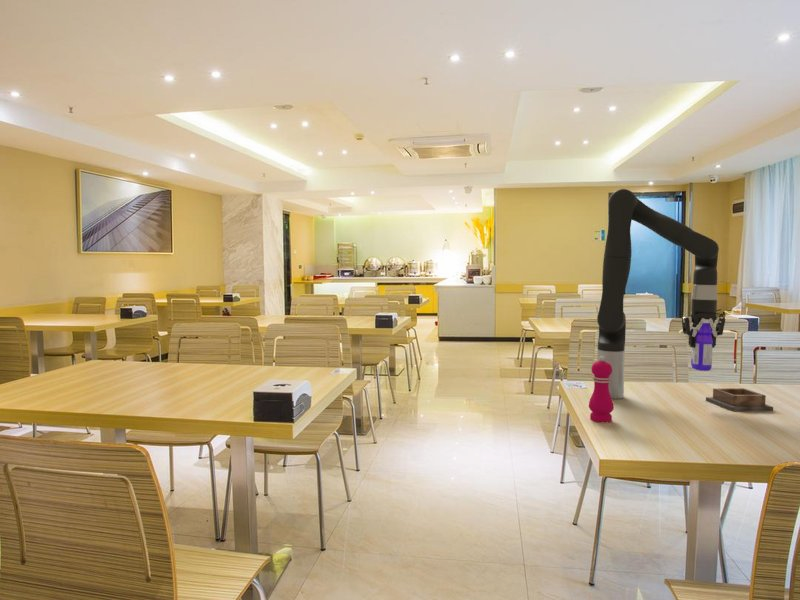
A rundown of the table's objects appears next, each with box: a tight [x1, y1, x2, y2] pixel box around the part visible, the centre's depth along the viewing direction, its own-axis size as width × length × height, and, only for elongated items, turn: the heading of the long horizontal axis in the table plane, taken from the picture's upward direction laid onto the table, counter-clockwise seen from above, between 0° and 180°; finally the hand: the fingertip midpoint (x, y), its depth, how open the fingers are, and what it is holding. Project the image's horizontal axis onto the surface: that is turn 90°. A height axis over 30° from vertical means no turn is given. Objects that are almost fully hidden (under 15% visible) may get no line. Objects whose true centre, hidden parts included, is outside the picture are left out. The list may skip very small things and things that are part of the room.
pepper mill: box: [588, 356, 615, 424], centre depth 163 cm, size 7×7×20 cm
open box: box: [705, 387, 774, 412], centre depth 181 cm, size 14×14×5 cm
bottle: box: [690, 319, 713, 372], centre depth 179 cm, size 7×6×17 cm
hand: (702, 347), depth 179 cm, fingers closed on bottle, 6 cm apart
